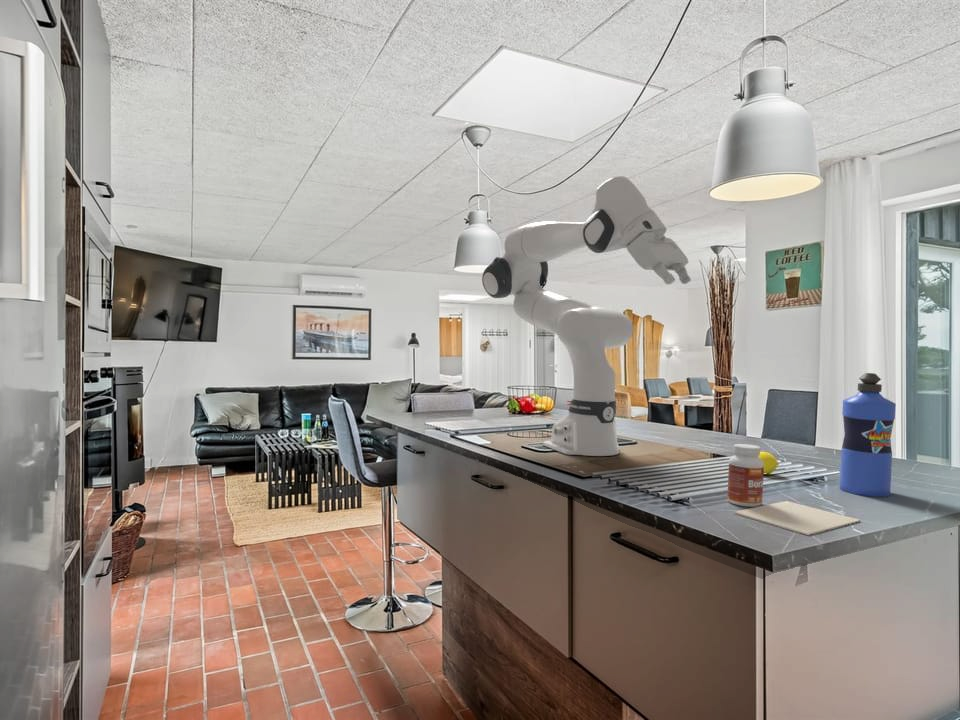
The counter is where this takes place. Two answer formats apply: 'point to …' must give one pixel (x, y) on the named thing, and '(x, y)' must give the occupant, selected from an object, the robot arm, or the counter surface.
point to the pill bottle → (745, 476)
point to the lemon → (768, 462)
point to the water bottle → (867, 440)
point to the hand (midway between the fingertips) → (679, 282)
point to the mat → (797, 517)
